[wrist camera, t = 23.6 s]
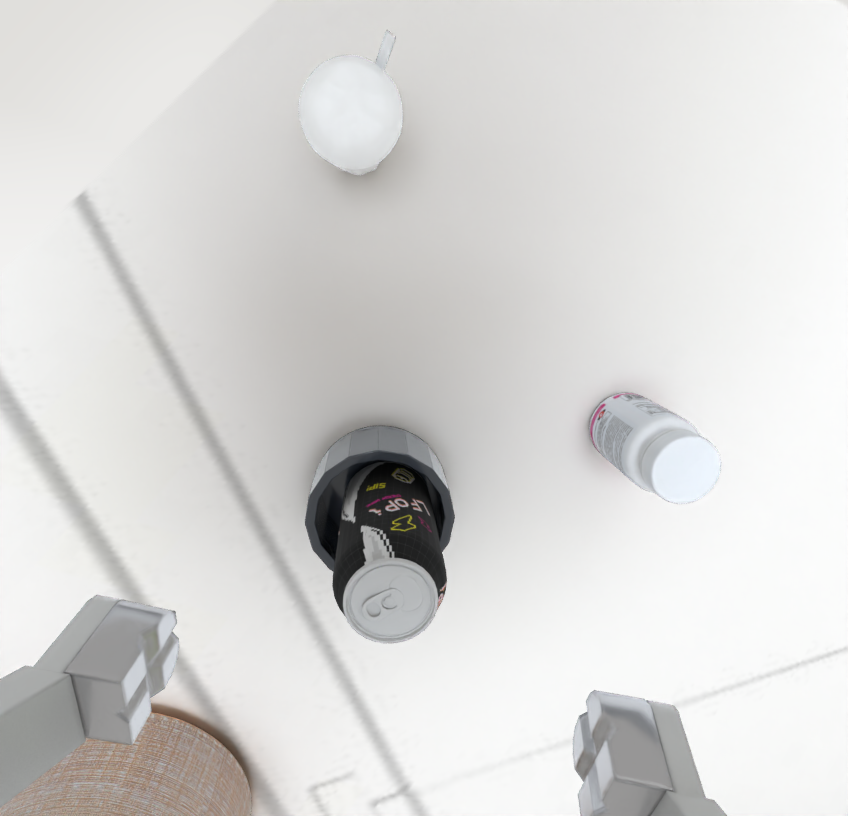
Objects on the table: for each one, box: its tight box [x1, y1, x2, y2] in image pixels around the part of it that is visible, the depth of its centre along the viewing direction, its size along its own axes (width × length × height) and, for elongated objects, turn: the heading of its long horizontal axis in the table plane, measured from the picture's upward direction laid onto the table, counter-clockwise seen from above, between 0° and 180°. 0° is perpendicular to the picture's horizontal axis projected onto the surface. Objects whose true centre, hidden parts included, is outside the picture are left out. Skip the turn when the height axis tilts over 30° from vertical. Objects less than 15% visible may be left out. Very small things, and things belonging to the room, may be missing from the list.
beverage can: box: [333, 461, 447, 643], centre depth 32 cm, size 6×6×12 cm
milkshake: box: [299, 30, 403, 176], centre depth 28 cm, size 5×5×10 cm
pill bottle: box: [589, 393, 721, 504], centre depth 35 cm, size 5×5×8 cm
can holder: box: [305, 426, 455, 571], centre depth 36 cm, size 9×9×5 cm
